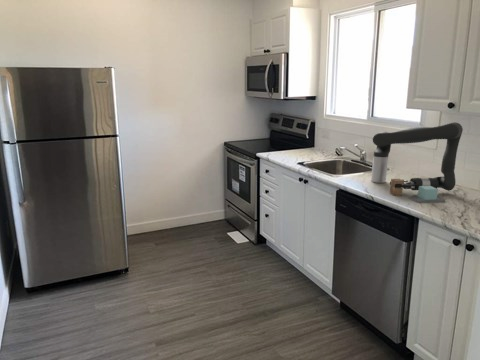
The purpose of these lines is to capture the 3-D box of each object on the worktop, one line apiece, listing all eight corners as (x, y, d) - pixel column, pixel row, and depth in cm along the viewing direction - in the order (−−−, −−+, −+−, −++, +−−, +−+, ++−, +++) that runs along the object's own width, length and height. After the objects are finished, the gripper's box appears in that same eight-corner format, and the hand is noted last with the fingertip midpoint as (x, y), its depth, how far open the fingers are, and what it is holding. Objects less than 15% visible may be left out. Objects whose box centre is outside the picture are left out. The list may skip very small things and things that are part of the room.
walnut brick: (389, 193, 232) (391, 178, 230) (397, 193, 233) (399, 178, 231) (393, 195, 228) (395, 180, 225) (401, 195, 228) (403, 180, 226)
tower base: (409, 198, 223) (410, 185, 221) (435, 197, 225) (437, 185, 223) (417, 202, 214) (419, 190, 213) (444, 201, 216) (446, 189, 214)
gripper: (414, 175, 236) (387, 175, 235) (427, 180, 222) (399, 181, 221) (412, 186, 238) (386, 187, 236) (425, 193, 224) (397, 194, 223)
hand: (392, 184), depth 229 cm, fingers closed on walnut brick, 5 cm apart
